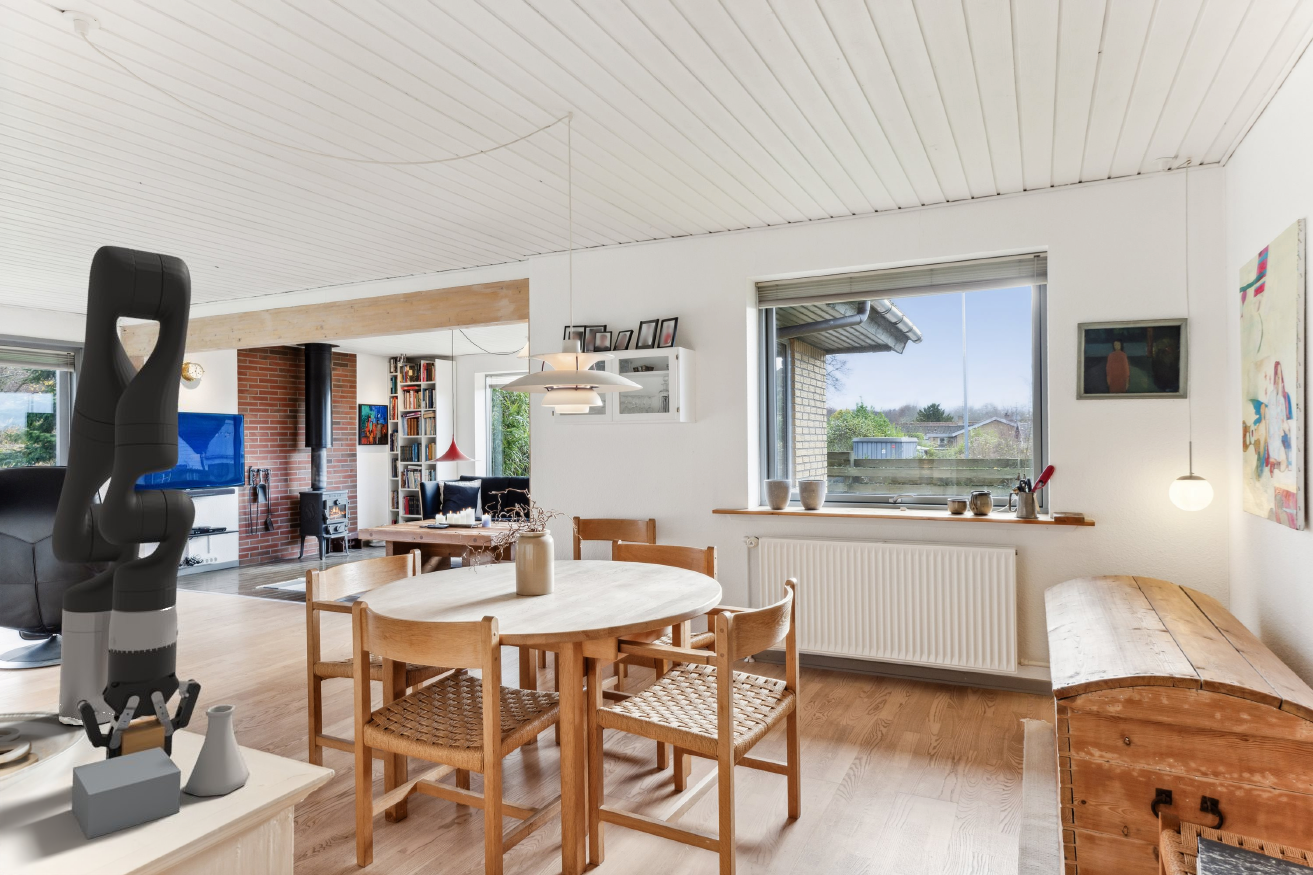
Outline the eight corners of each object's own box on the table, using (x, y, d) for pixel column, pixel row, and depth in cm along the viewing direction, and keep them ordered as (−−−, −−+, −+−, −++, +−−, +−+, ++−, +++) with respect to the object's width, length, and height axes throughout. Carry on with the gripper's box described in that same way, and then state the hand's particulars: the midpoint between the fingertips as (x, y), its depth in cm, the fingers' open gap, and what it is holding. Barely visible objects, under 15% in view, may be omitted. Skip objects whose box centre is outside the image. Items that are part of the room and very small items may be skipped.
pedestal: (71, 808, 91) (73, 767, 91) (158, 785, 97) (160, 746, 97) (87, 839, 85) (88, 794, 85) (179, 811, 91) (180, 770, 91)
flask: (228, 799, 95) (232, 720, 94) (171, 796, 95) (174, 717, 95) (260, 773, 102) (263, 699, 102) (207, 770, 102) (210, 697, 102)
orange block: (114, 770, 100) (116, 725, 100) (153, 760, 104) (155, 717, 104) (122, 782, 97) (124, 736, 97) (163, 771, 101) (164, 727, 100)
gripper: (195, 625, 108) (191, 743, 108) (70, 642, 97) (66, 773, 98) (212, 637, 103) (207, 761, 103) (82, 657, 92) (77, 795, 93)
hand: (138, 766), depth 100 cm, fingers closed on orange block, 4 cm apart
